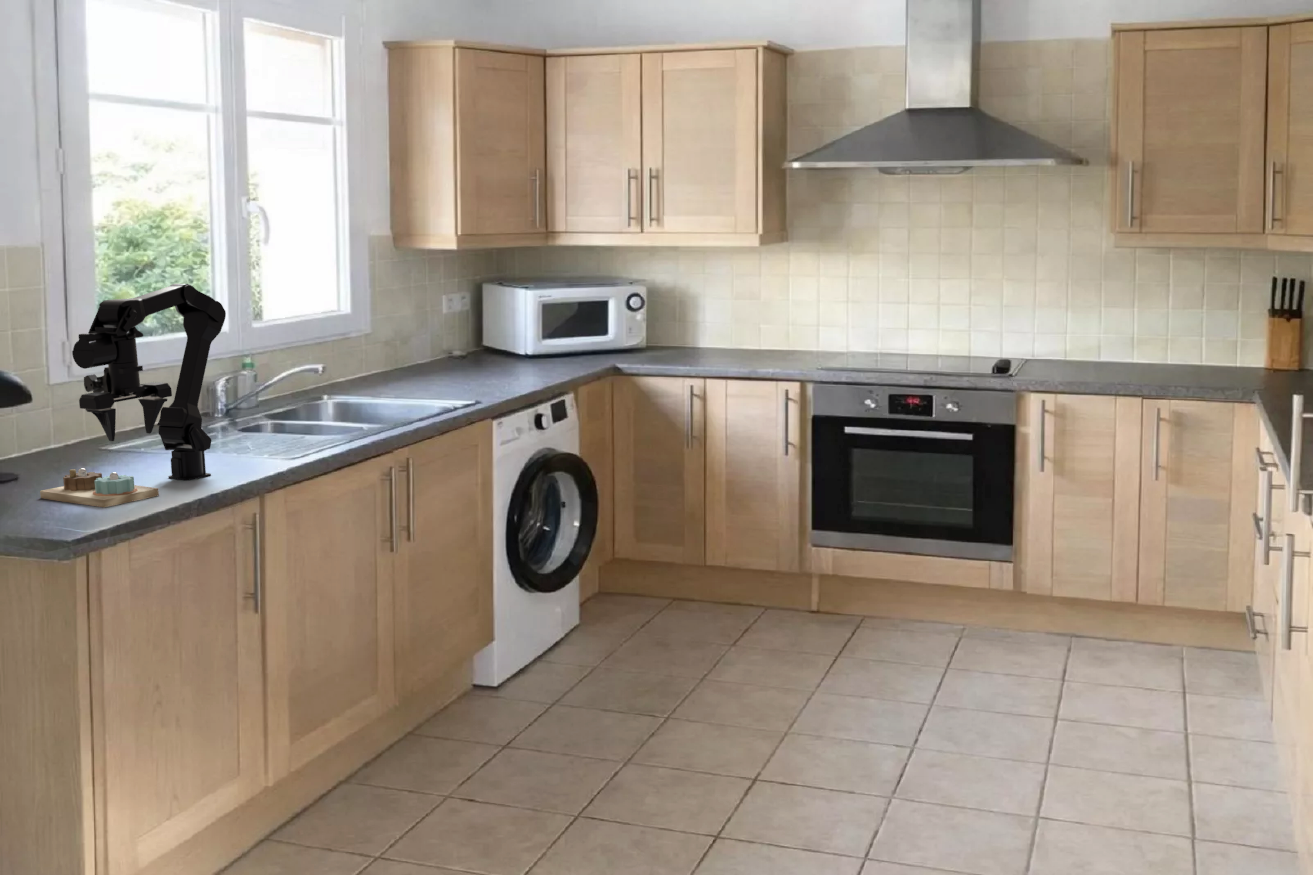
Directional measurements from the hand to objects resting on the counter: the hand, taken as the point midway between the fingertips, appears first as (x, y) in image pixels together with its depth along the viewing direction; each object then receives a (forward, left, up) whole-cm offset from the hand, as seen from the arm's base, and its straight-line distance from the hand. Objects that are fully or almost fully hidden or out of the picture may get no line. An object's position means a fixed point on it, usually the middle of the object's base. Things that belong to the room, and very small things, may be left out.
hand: (130, 437), depth 294 cm
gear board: (+7, -1, -11) cm, 14 cm away
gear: (+7, -6, -10) cm, 14 cm away
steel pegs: (+7, -1, -10) cm, 12 cm away
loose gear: (+7, +4, -10) cm, 13 cm away
